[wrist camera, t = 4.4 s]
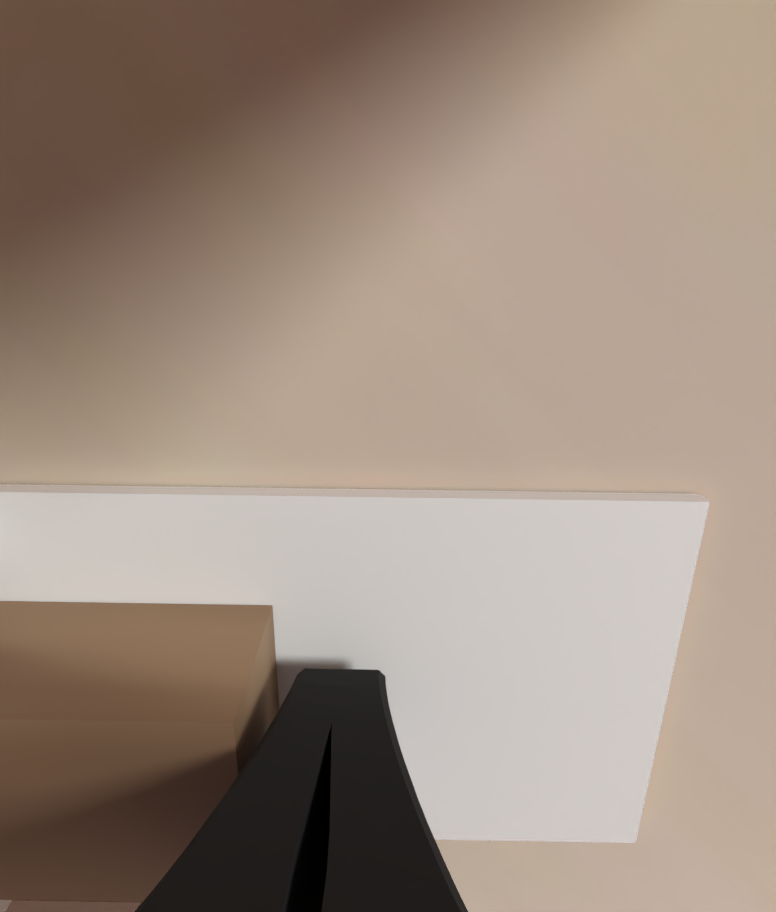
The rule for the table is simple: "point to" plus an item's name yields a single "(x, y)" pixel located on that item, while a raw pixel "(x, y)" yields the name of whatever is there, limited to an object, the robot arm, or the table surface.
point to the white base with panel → (420, 620)
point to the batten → (122, 737)
